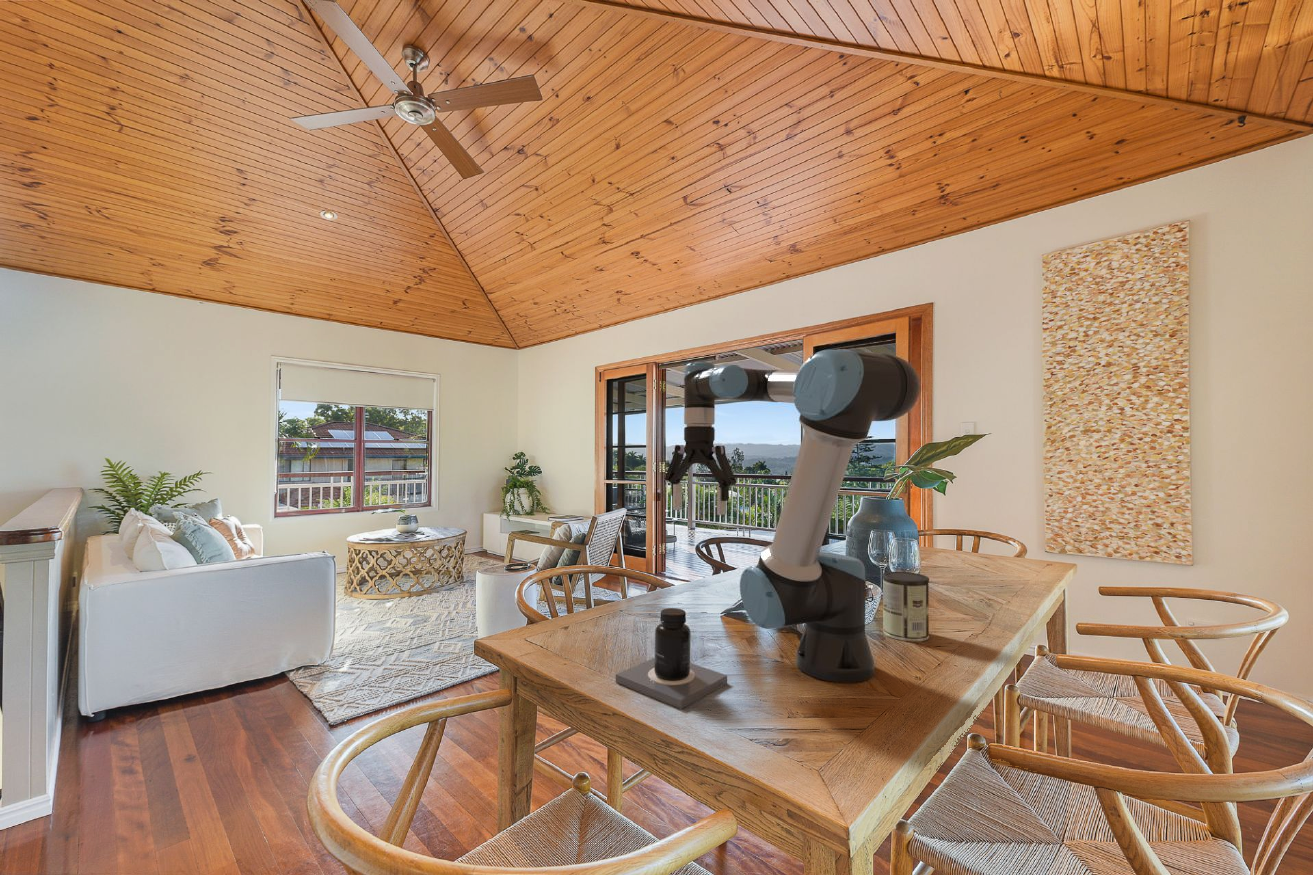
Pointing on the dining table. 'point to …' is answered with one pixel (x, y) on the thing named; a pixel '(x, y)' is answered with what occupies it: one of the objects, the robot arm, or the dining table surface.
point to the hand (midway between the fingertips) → (698, 512)
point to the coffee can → (906, 606)
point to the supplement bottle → (672, 646)
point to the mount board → (672, 683)
